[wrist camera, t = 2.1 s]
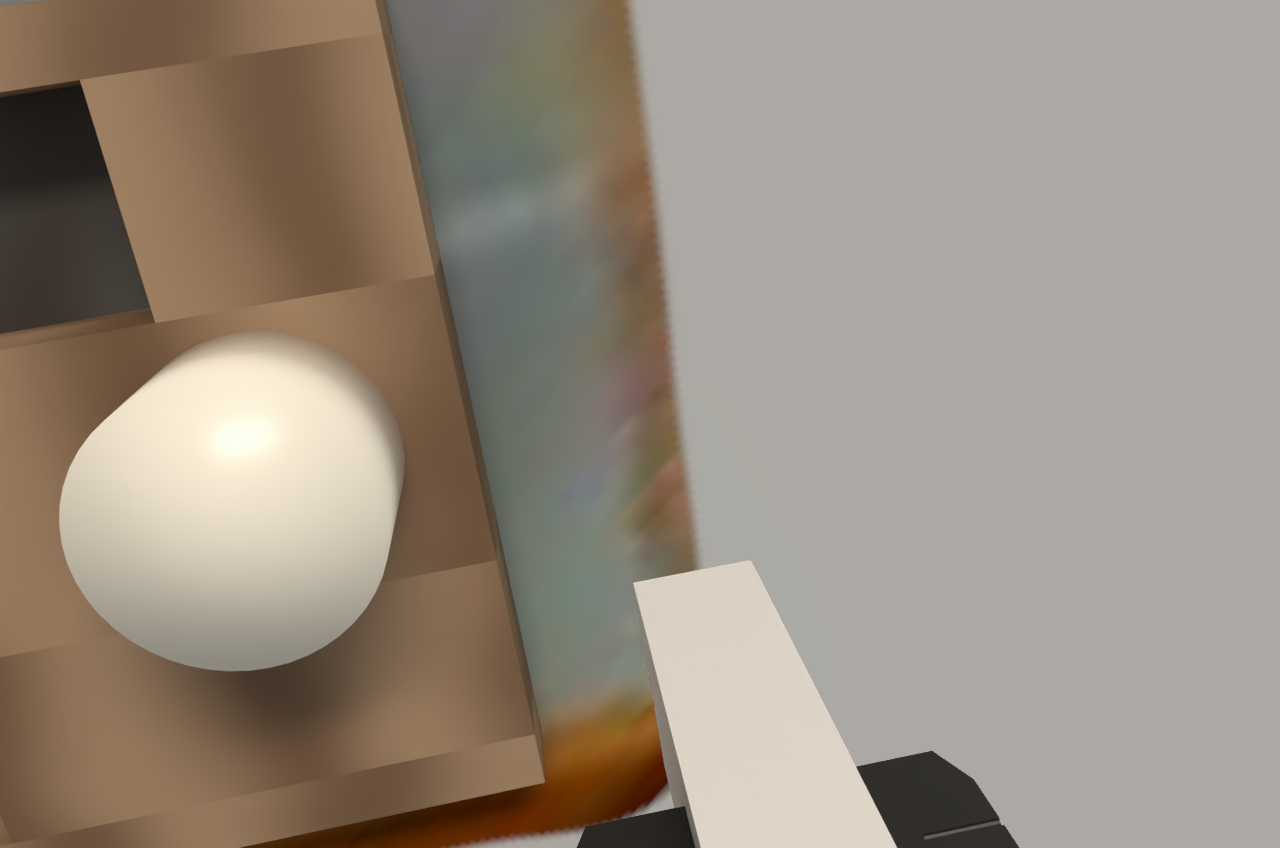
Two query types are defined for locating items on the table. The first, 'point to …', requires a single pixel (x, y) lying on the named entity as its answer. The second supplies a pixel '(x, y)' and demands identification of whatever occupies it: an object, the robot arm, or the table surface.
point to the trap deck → (188, 315)
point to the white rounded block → (237, 503)
